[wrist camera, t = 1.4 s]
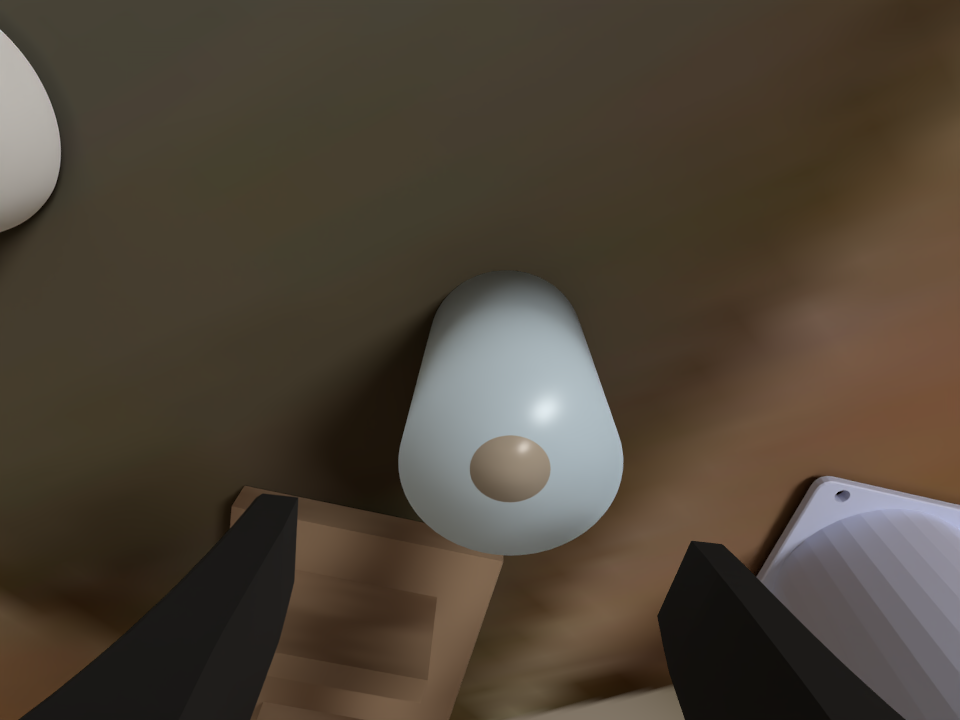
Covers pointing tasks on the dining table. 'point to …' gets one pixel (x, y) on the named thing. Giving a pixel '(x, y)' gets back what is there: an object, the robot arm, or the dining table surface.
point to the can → (24, 139)
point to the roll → (509, 421)
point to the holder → (373, 617)
